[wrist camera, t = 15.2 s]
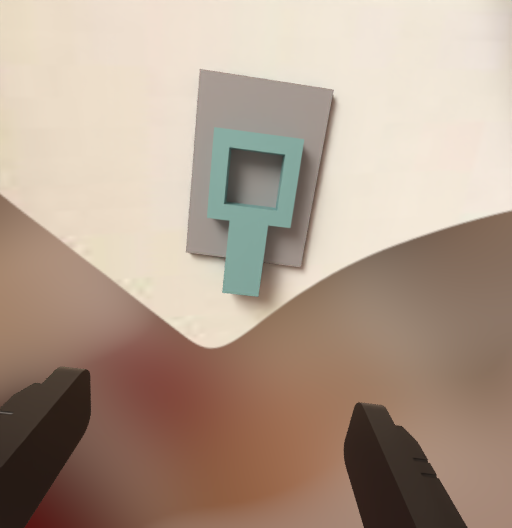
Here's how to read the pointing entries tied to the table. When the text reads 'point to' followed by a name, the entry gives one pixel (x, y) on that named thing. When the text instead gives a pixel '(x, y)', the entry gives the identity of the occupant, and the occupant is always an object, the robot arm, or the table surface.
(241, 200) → the mat
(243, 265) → the teal square frame paddle
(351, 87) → the table surface
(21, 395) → the robot arm
